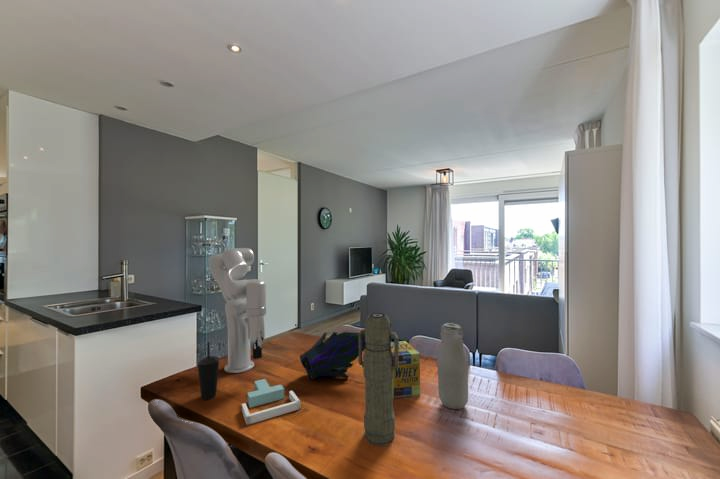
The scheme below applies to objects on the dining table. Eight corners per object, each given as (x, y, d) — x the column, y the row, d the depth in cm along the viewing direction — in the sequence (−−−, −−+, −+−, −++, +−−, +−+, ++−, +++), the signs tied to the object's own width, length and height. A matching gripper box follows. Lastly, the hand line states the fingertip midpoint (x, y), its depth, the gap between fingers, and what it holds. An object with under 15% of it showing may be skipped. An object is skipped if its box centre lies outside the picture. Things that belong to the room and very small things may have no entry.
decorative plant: (309, 394, 131) (368, 363, 144) (319, 397, 109) (389, 360, 121) (292, 348, 137) (351, 322, 149) (299, 341, 115) (367, 311, 127)
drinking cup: (210, 403, 108) (210, 346, 108) (192, 401, 109) (191, 345, 110) (224, 392, 115) (224, 339, 116) (206, 390, 117) (206, 338, 117)
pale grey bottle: (468, 401, 107) (466, 320, 107) (468, 417, 97) (467, 328, 97) (439, 396, 110) (437, 319, 110) (436, 411, 100) (435, 326, 100)
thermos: (399, 448, 83) (396, 319, 83) (356, 443, 85) (354, 317, 85) (401, 428, 91) (399, 312, 92) (362, 424, 94) (361, 310, 94)
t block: (243, 393, 115) (243, 383, 115) (275, 385, 121) (275, 376, 121) (249, 407, 104) (249, 397, 104) (284, 398, 110) (284, 388, 110)
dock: (241, 411, 102) (241, 403, 102) (292, 397, 111) (292, 390, 111) (246, 425, 94) (246, 417, 94) (300, 408, 103) (300, 401, 103)
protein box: (393, 399, 108) (392, 355, 109) (381, 380, 124) (381, 342, 124) (421, 396, 111) (420, 353, 111) (406, 377, 126) (405, 340, 126)
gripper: (243, 310, 127) (244, 354, 127) (250, 316, 114) (251, 365, 114) (261, 307, 131) (262, 351, 130) (270, 313, 118) (271, 361, 117)
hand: (257, 357), depth 122 cm, fingers closed
